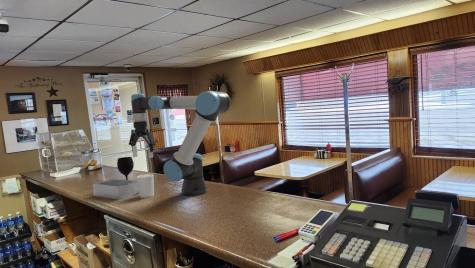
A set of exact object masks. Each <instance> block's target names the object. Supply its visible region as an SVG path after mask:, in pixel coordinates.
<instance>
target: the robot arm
mask: <svg viewBox="0 0 475 268" xmlns="http://www.w3.org/2000/svg"><path fill="white" fill-rule="evenodd" d="M130 101H131V102H130V103H131V104H130V105H131V111H132V112H131V113H132V121H133V123H132V124H133V125H132V126H133V128H134V129H131V131H130V135H129V136H130V137H129V141H128V146H130V147H131V151H132V158H137V157H138V147H137V142H138V141H139V138H142V139H144V141H145V143H146V144H147V145H148V146H147V151H148V152H147V153H148V159H152V158H154V146H155V145H156V141H155V139H154V136H153V135H152V132H151V128H147V127H148V122H147V111H153V110H154V111H156V110H194V112H195V117H194V119H193V121H192V123H191V125H190V126H189V129H188V131H187V133H186V135H185V137H184V139H183V141H182V143H181V144H180V147H179V148H178V151H175V152H174V153H173V155H172V156H171V159H170V160H167V161H166V162H165V163H164V165H163V172H164V175H165V177H166V178H167V180H168V181H171V182H179V181H181V180H183V181H182V185H181V190H180V191H181V193H180V194H181V195H183V196H198V195H202V194H205V193H207V192H208V186H207V184H206V182H205V179H204V172H203V171H204V169H203V156H202V155H201V154H200V153H197V150H198V149H199V146H200V145H201V143H202V141H203V139H204V138H205V136H206V134H207V132H208V129H209V128H210V126H211V124H212V123H215V122H216V120H217V118H218V116H219V115H221V114H224V113H226V112H228V111H229V109H230V108H231V105H232V100H231V98H230V96H229V95H228V93H226V92H224V91H213V90H207V91H203V92H201V93H199V94H198V95H184V96H183V95H181V96H180V95H177V96H176V95H175V96H164V95H163V96H162V95H161V96H160V95H151V96H145V94H144V93H135V94H134V93H133V94H131V96H130Z"/></svg>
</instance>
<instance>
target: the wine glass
mask: <svg viewBox="0 0 475 268" xmlns="http://www.w3.org/2000/svg"><path fill="white" fill-rule="evenodd" d="M116 163H117V164H116V166H117V167H116V169H117V170H118V171H119V173H120V174H122V175H123V176H125V180H128V179H129V177H128V176H129V175H130V174H131V173H132V172H133V169H134V166H135V165H134V164H135V163H134V159H133V156H122V157H118V158H117V162H116Z"/></svg>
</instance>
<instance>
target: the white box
mask: <svg viewBox="0 0 475 268" xmlns="http://www.w3.org/2000/svg"><path fill="white" fill-rule="evenodd" d="M154 177H155V176H154V174H153V173H144V174H140V175H137V176H136V177H135V178H136V181H137V185H138V191H139V194H138V195H139V196H138V197H139V198H141V199H144V198H151V197H154V195H155V182H154V179H155V178H154Z"/></svg>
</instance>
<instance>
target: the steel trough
mask: <svg viewBox="0 0 475 268" xmlns="http://www.w3.org/2000/svg"><path fill="white" fill-rule="evenodd" d="M92 191H93V197H96V198H102V199H108V200H109V199H110V200H115V201H121V200H124V199H127V198H130V197H133V196H137V195H139V191H138V185H137V180H126V179H118V178H113V179H109V180H104V181H99V182H97V183H93V184H92Z"/></svg>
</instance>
